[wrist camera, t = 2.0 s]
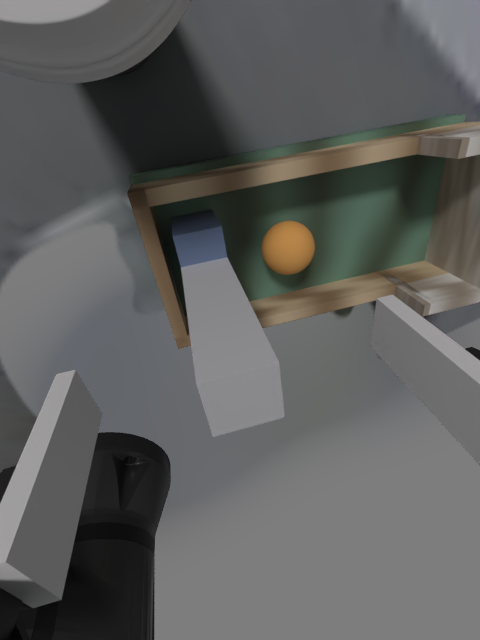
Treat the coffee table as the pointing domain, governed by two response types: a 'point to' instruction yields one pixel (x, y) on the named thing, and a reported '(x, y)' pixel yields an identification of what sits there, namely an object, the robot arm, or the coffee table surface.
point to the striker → (224, 332)
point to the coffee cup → (82, 36)
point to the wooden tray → (331, 219)
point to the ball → (288, 247)
